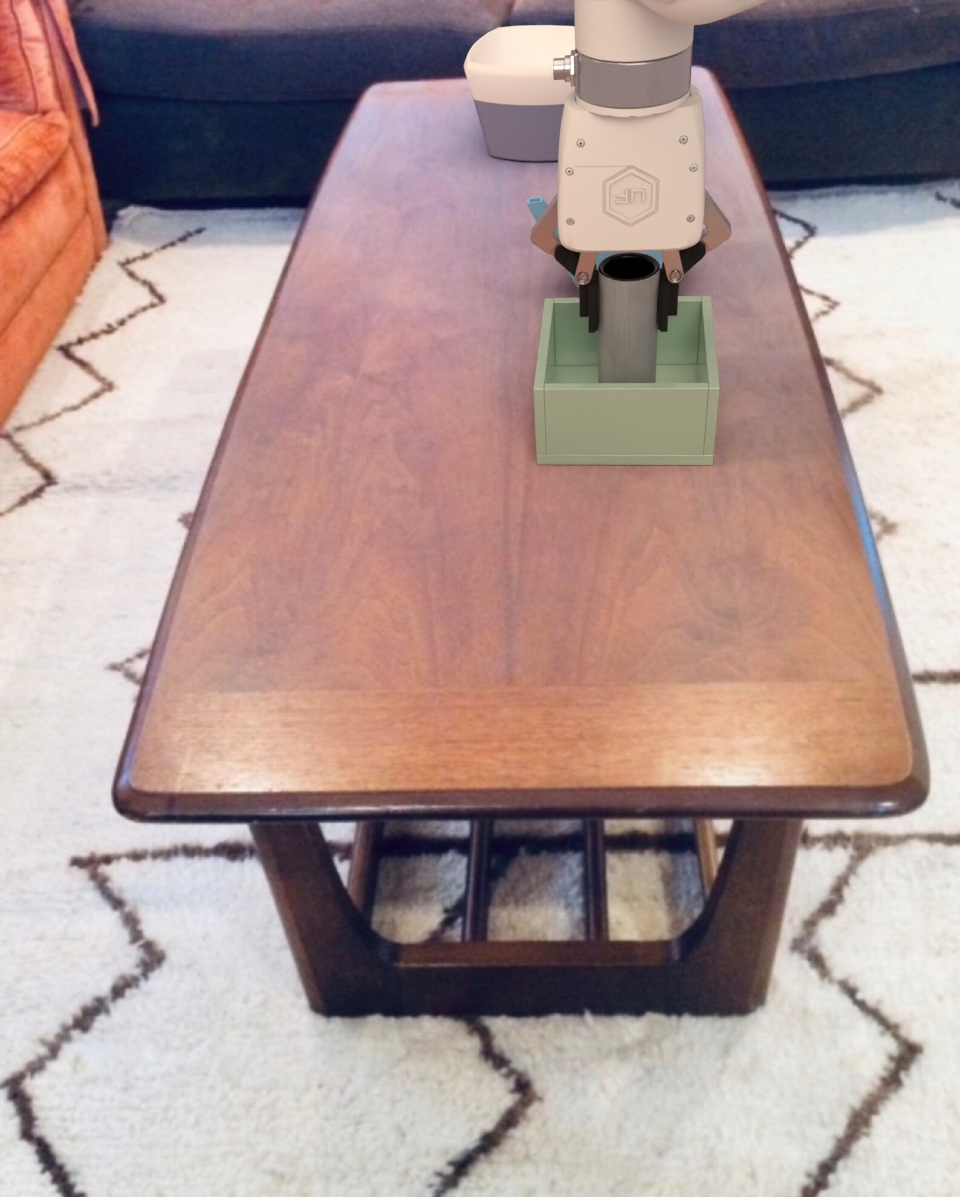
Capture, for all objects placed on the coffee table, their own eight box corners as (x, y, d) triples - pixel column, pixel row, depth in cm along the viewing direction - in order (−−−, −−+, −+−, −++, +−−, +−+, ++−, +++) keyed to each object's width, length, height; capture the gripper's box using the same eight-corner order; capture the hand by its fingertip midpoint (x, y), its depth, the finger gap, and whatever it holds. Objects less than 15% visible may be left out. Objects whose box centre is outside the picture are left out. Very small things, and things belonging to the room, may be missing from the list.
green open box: (705, 369, 94) (711, 295, 89) (712, 465, 84) (719, 388, 80) (547, 370, 96) (544, 297, 91) (536, 465, 86) (533, 389, 81)
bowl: (457, 166, 129) (449, 67, 121) (494, 117, 139) (488, 22, 132) (585, 173, 125) (585, 70, 117) (613, 122, 135) (614, 24, 128)
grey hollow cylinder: (654, 369, 89) (659, 250, 82) (655, 400, 86) (660, 279, 79) (598, 370, 90) (598, 252, 83) (597, 401, 87) (597, 281, 80)
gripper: (498, 99, 70) (514, 350, 83) (770, 88, 68) (743, 348, 80) (508, 59, 75) (521, 301, 88) (761, 48, 73) (737, 297, 86)
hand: (628, 321), depth 84 cm, fingers closed on grey hollow cylinder, 4 cm apart
